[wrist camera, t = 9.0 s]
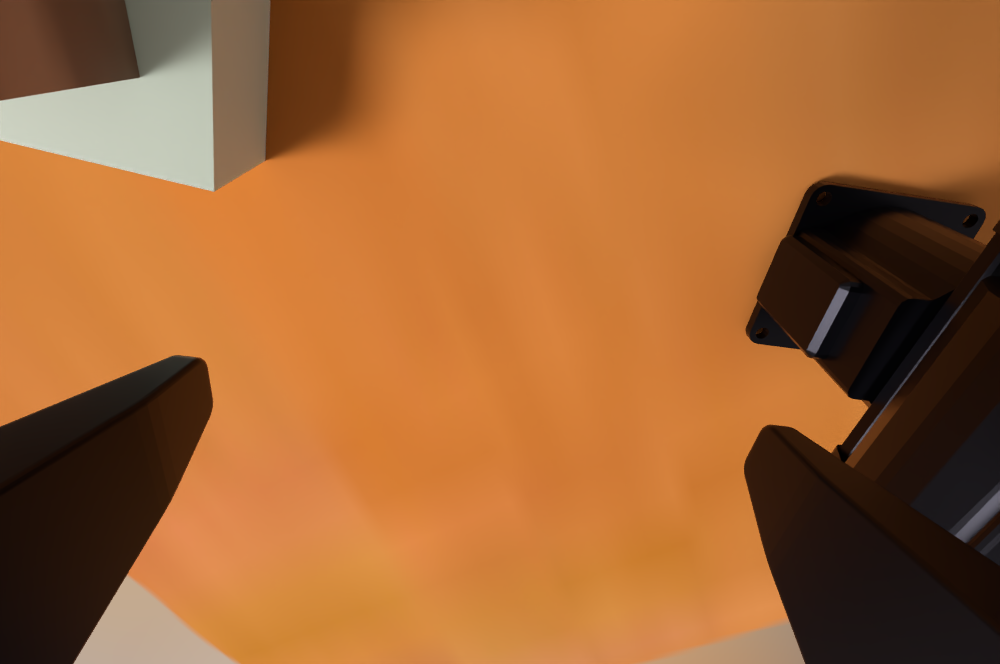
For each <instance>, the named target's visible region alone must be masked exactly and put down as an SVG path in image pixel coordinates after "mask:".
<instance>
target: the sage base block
mask: <svg viewBox="0 0 1000 664" xmlns="http://www.w3.org/2000/svg"><path fill="white" fill-rule="evenodd" d="M125 4H126V9H127V14H128V19H129V24H130V29H131V34H132V40H133V45H134V50H135V55H136V60H137V65H138V70H139V75H140V78H135V79H129V80H123V81H117V82H111V83H105V84H99V85H93V86H87V87H81V88H75V89H69V90H63V91H57V92H50V93H44V94H38V95H32V96H26V97H20V98H14V99H8V100H2V101H0V140H1V141H5V142H9V143H14V144H18V145H22V146H26V147H30V148H34V149H39V150H43V151H47V152H51V153H55V154H59V155H64V156H68V157H72V158H76V159H80V160H85V161H89V162H93V163H97V164H101V165H105V166H110V167H114V168H118V169H122V170H126V171H130V172H135V173H139V174H143V175H147V176H151V177H155V178H160V179H164V180H168V181H172V182H176V183H180V184H185V185H189V186H193V187H197V188H201V189H205V190H210V191H216V190H218V189H219V188H221V187H222V186H224V185H226V184H227V183H229V182H231V181H232V180H234V179H236V178H237V177H239V176H241V175H242V174H244V173H246V172H247V171H249V170H251V169H252V168H254V167H256V166H257V165H259V164H261V163H262V162H264V161H265V157H266V126H267V94H268V63H269V32H270V0H125Z"/></svg>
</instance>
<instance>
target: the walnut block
mask: <svg viewBox="0 0 1000 664" xmlns="http://www.w3.org/2000/svg"><path fill="white" fill-rule="evenodd" d="M135 78H140V75H139V70H138V65H137V60H136V55H135V50H134V45H133V40H132V34H131V29H130V24H129V19H128V14H127V9H126V4H125V0H0V101H2V100H8V99H14V98H20V97H26V96H32V95H38V94H44V93H50V92H57V91H63V90H69V89H75V88H81V87H87V86H93V85H99V84H105V83H111V82H117V81H123V80H129V79H135Z"/></svg>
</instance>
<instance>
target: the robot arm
mask: <svg viewBox="0 0 1000 664" xmlns="http://www.w3.org/2000/svg"><path fill="white" fill-rule="evenodd" d="M823 192H826V195H825V198H824V199H823V200H822V201H820V202H816V201H817V197H818V196H819V195H820V194H821V193H823ZM969 215H970V216H969ZM967 216H969V219H968V220H967V221H966V222H964V223H963V220H964V219H965V218H966V217H967ZM985 218H986V213H985V211H984V210H983V209H981V208H979V207H976V206H974V205H971V204H967V203H960V202H954V201H947V200H941V199H934V198H928V197H921V196H915V195H908V194H902V193H895V192H889V191H882V190H876V189H869V188H863V187H856V186H850V185H843V184H837V183H830V182H818V183H815V184H813V185H812V186H811V187H809V188H808V190H807V191H806V193H805V195H804V197H803V199H802V201H801V204H800V206H799V208H798V210H797V213H796V215H795V217H794V220H793V222H792V224H791V226H790V229H789V231H788V233H787V235H786V237H785V238H784V239H783V240H782V241H781V242H780V245H779V247H778V249H777V251H776V254H775V256H774V258H773V261H772V263H771V265H770V268H769V270H768V272H767V274H766V277H765V279H764V281H763V284H762V286H761V288H760V290H759V293H758V295H757V300H758V301H757V304H756V306H755V308H754V310H753V313H752V315H751V317H750V320H749V322H748V324H747V326H746V334H747V336H748V337H749V338H750V340H751V341H752V342H754V343H757V344H763V345H771V346H779V347H786V348H794V349H801V350H802V351H803V352H804V354H805V355H806V356H807V357H809V358H814V360H815V361H816V362H817V363H818V364H819V365H820V366H821V367H822V368H823V369H824V370H825V372H826V373H827V374H828V375H829V376H830V377H831V378H832V379H833V380H834V381H835V382H836V384H837V385H838V386H839V387H840V388H841V389H842V390H843V391H844V392H845V393H846V394H847V395H848V397H850V398H852V399H858V400H862V401H863V402H864V403H865V404H866V405H867V406H868V410H867V411H866V412H865V414H864V415H863V417H862V418H861V419H860V421H859V422H858V423H857V425H856V426H855V428H854V429H853V430H852V432H851V433H850V435H849V436H848V437H847V439H846V440H845V441H844V443H843V444H842V445H837V446H836V448H835V449H834V450H833V452H832V453H830V452H828V451H827V450H825V449H824V448H822V447H821V446H819V445H818V444H816V443H815V442H813V441H812V440H810V439H809V438H807V437H806V436H804V435H803V434H801V433H800V432H798V431H797V430H795V429H794V428H791V427H786V426H777V425H767V426H765V427H764V428H762V430H761V431H760V433H759V435H758V437H757V439H756V441H755V443H754V445H753V446H752V448H751V450H750V452H749V454H748V456H747V458H746V461H745V465H744V474H745V479H746V483H747V486H748V490H749V494H750V498H751V502H752V506H753V510H754V514H755V517H756V521H757V525H758V529H759V533H760V537H761V541H762V544H763V548H764V551H765V555H766V558H767V561H768V564H769V567H770V570H771V573H772V576H773V579H774V581H775V584H776V587H777V589H778V592H779V595H780V597H781V600H782V603H783V605H784V608H785V611H786V613H787V616H788V619H789V622H790V624H791V627H792V630H793V632H794V635H795V638H796V640H797V643H798V646H799V648H800V651H801V654H802V656H803V659H804V662H805V664H1000V220H999V221H998V223H997V224H996V226H995V227H994V228H993V231H995V232H996V234H995V235H994V236H993V238H992V239H991V240H990V242H989V243H988V245H985V244H983V243H980V242H978V241H976V240H974V237H975V235H976V234H977V232H978V231H979V229H980V228H981V226H982V224H983V223H984V220H985ZM760 328H764V330H763V331H762V332H761V333H757V334H756V332H757V331H758V330H759V329H760ZM212 408H213V397H212V391H211V385H210V379H209V373H208V367H207V364H206V362H205V361H204V360H203V359H201V358H198V357H190V356H181V355H175V356H171V357H169V358H166V359H164V360H161V361H159V362H157V363H154V364H152V365H149V366H147V367H144V368H142V369H140V370H137V371H135V372H132V373H130V374H127V375H125V376H122V377H120V378H118V379H115V380H113V381H110V382H108V383H105V384H103V385H101V386H98V387H96V388H93V389H91V390H88V391H86V392H84V393H81V394H79V395H76V396H74V397H71V398H69V399H66V400H64V401H62V402H59V403H57V404H54V405H52V406H49V407H47V408H45V409H42V410H40V411H37V412H35V413H32V414H30V415H28V416H25V417H23V418H20V419H18V420H15V421H13V422H11V423H8V424H6V425H3V426H1V427H0V664H73V663H74V662H75V660H76V658H77V657H78V655H79V653H80V652H81V650H82V648H83V647H84V645H85V643H86V642H87V640H88V638H89V637H90V635H91V633H92V632H93V630H94V628H95V627H96V625H97V623H98V622H99V620H100V619H101V617H102V615H103V614H104V612H105V610H106V609H107V607H108V605H109V604H110V602H111V600H112V598H113V597H114V595H115V594H116V592H117V590H118V588H119V587H120V585H121V584H122V582H123V580H124V579H125V577H126V575H127V574H128V572H129V570H130V569H131V567H132V565H133V564H134V562H135V560H136V559H137V557H138V556H139V554H140V552H141V551H142V549H143V547H144V546H145V544H146V542H147V541H148V539H149V537H150V536H151V534H152V532H153V531H154V529H155V527H156V526H157V524H158V522H159V521H160V519H161V517H162V516H163V514H164V512H165V510H166V509H167V507H168V505H169V503H170V502H171V500H172V498H173V496H174V494H175V492H176V490H177V488H178V486H179V483H180V481H181V479H182V477H183V475H184V472H185V470H186V468H187V466H188V464H189V462H190V459H191V457H192V455H193V453H194V451H195V448H196V446H197V444H198V442H199V440H200V437H201V435H202V433H203V431H204V429H205V427H206V424H207V422H208V420H209V418H210V415H211V412H212Z"/></svg>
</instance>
